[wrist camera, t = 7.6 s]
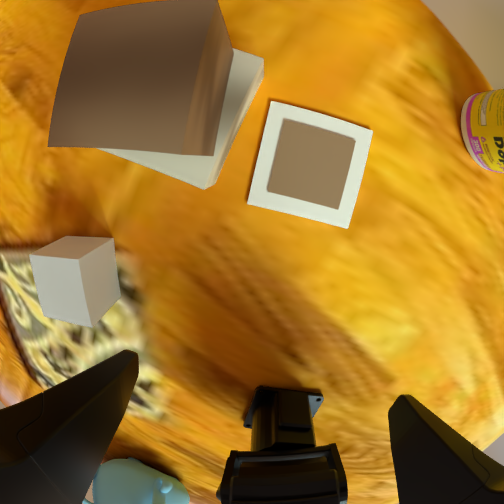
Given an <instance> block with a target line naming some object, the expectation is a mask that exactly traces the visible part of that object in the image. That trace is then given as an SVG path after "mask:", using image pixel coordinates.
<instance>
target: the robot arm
mask: <svg viewBox="0 0 504 504" xmlns="http://www.w3.org/2000/svg"><path fill="white" fill-rule="evenodd" d="M138 374H139V361H138V354H137V353H136V352H133V351H130V350H123V351H121V352H119V353H117V354H116V355H114V356H112V357H110V358H108V359H106V360H104V361H102V362H100V363H98V364H97V365H95V366H93V367H91V368H89V369H87V370H85V371H83V372H81V373H79V374H77V375H75V376H73V377H71V378H69V379H67V380H65V381H63V382H61V383H59V384H57V385H55V386H53V387H51V388H49V389H47V390H45V391H44V392H43V393H42V392H41V393H39V394H37V395H35V396H33V397H31V398H29V399H26V400H24V401H22V402H20V403H17V404H14V405H12V406H9V407H6V408H3V409H0V504H82V502H83V500H84V498H85V496H86V493H87V491H88V489H89V487H90V485H91V482H92V480H93V478H94V476H95V474H96V472H97V470H98V468H99V465H100V463H101V461H102V459H103V457H104V455H105V453H106V451H107V449H108V447H109V445H110V443H111V441H112V439H113V437H114V434H115V432H116V430H117V428H118V426H119V424H120V422H121V420H122V418H123V416H124V414H125V411H126V408H127V406H128V403H129V400H130V397H131V394H132V392H133V389H134V386H135V383H136V381H137V378H138ZM317 398H318V399H317ZM323 400H324V398H323V395H322V394H319V393H310V392H301V391H293V390H285V389H278V388H272V387H265V386H259V387H257V388H256V390H255V393H254V396H253V399H252V401H251V404H250V407H249V409H248V412H247V415H246V417H245V420H244V427H245V428H250V429H252V436H251V451H238V450H231V452H230V456H229V457H228V459H227V461H226V466H225V470H224V474H223V478H222V481H221V484H220V486H219V488H218V490H217V492H216V497H217V498H218V499H219V500H220V501H221V503H222V504H347V498H348V488H347V480H346V475H345V471H344V468H343V465H342V462H341V458H340V455H339V452H338V449H337V446H336V443H332V444H329V445H325V446H318V447H316V440H315V433H314V426H313V419H312V418H313V417H314V415H315V413H316V412H317V410H318V408H319V407H320V405H321V403H322V402H323ZM388 420H389V430H390V442H391V451H392V457H393V463H394V469H395V475H396V482H397V489H398V497H399V504H504V466H503V465H501V464H499V463H498V462H496V461H495V460H493V459H492V458H490V457H489V456H487V455H486V454H484V453H483V452H482V451H480V450H479V449H478V448H477V447H475V446H474V445H473V444H471V443H470V442H469V441H468V440H466V439H465V438H464V437H463V436H461V435H460V434H459V433H458V432H456V431H455V430H454V429H452V428H451V427H450V426H449V425H447V424H446V423H445V422H444V421H442V420H441V419H440V418H439V417H437V416H436V415H435V414H434V413H432V412H431V411H430V410H429V409H427V408H426V407H425V406H424V405H422V404H421V403H420V402H419V401H418V400H416V399H415V398H414V397H413V396H411V395H408V394H407V395H400V396H399V397H398V398H397V399H396V401H395V402H394V404H393V405H392V406H391V408H390V409H389V412H388Z"/></svg>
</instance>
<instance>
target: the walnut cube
mask: <svg viewBox="0 0 504 504" xmlns="http://www.w3.org/2000/svg"><path fill="white" fill-rule="evenodd" d="M233 56H234V51H233V48H232V45H231V41H230V38H229V35H228V32H227V28H226V25H225V22H224V19H223V16H222V13H221V10H220V7H219V3H218V0H167V1H155V2H146V3H138V4H131V5H124V6H118V7H113V8H108V9H103V10H98V11H94V12H90V13H86V14H82V15H80V16H79V19H78V21H77V24H76V27H75V29H74V32H73V35H72V38H71V41H70V44H69V47H68V50H67V53H66V57H65V60H64V64H63V67H62V71H61V75H60V79H59V83H58V87H57V92H56V97H55V102H54V107H53V112H52V118H51V124H50V131H49V139H48V147H86V148H108V149H124V150H138V151H149V152H159V153H169V154H178V155H197V156H214V151H215V145H216V139H217V134H218V129H219V123H220V118H221V113H222V108H223V103H224V98H225V93H226V88H227V83H228V79H229V74H230V70H231V65H232V61H233Z"/></svg>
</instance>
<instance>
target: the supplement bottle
mask: <svg viewBox="0 0 504 504" xmlns="http://www.w3.org/2000/svg"><path fill="white" fill-rule="evenodd" d="M461 130H462V135H463V139H464V142H465V145H466V148H467V150H468V152H469V153H470V155H471V157H472V158H473V159H474V161H475V162H476V163H477V164H478V165H480V166H481V167H483V168H484V169H487V170H490V171H495V172H500V173H504V89H498V90H492V91H486V92H481V93H476V94H474V95H472V96H470V97H469V98H468V99H467V100H466V102H465V103H464V105H463V108H462V113H461Z"/></svg>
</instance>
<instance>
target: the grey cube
mask: <svg viewBox="0 0 504 504" xmlns="http://www.w3.org/2000/svg"><path fill="white" fill-rule="evenodd" d="M29 256H30V261H31V267H32V271H33V276H34V281H35V285H36V289H37V293H38V297H39V301H40V304H41V308H42V311H43V315H44V316H45V317H49V318H53V319H57V320H61V321H65V322H69V323H73V324H78V325H82V326H87V327H91V328H93V326H94V325H95V324H96V323H97V322H98V321H99V320H100V319H101V318H102V316H103V315H104V314H105V313H106V312H107V311H108V310H109V309H110V308H111V307H112V306H113V305H114V303H115V302H116V301H117V300H118V299H119V298H120V297H121V294H120V287H119V281H118V273H117V265H116V257H115V247H114V238H104V237H83V236H65V237H63V238H61V239H59V240H57V241H55V242H53V243H51V244H49V245H47V246H45V247H43V248H41V249H39V250H37V251H35V252H33V253H31V254H29Z"/></svg>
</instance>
